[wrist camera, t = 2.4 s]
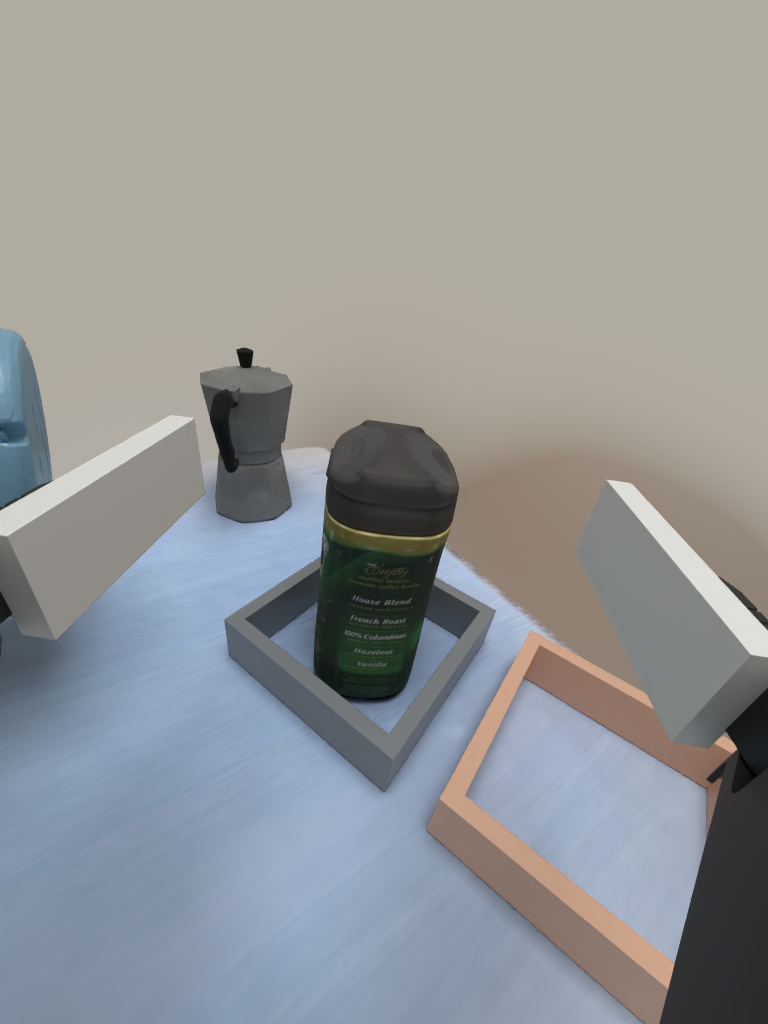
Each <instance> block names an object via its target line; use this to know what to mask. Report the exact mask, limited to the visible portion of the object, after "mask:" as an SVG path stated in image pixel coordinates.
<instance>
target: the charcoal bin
mask: <svg viewBox="0 0 768 1024" xmlns="http://www.w3.org/2000/svg"><path fill="white" fill-rule="evenodd" d="M320 565H321V557H319V558H318V559H316V560H315V561H313V562H311V563H310V564H308V565H307V566H305V567H304V568H302V569H301V570H299V571H298V572H296V573H295V574H293V575H292V576H290V577H289V578H287V579H286V580H284V581H282V582H281V583H279V584H278V585H276V586H275V587H273V588H272V589H270V590H269V591H267V592H266V593H264V594H263V595H261V596H260V597H258V598H257V599H255V600H254V601H252V602H250V603H249V604H247V605H246V606H244V607H243V608H241V609H240V610H238V611H237V612H235V613H234V614H232V615H231V616H229V617H228V618H226V619H225V620H224V621H225V628H226V636H227V644H228V651H229V656H231V657H232V658H233V659H234V660H235V661H236V662H237V663H238V664H240V665H241V666H242V667H243V668H244V669H245V670H246V671H247V672H249V673H250V674H251V675H252V676H253V677H254V678H255V679H257V680H258V681H259V682H260V683H261V684H262V685H263V686H264V687H266V688H267V689H268V690H269V691H270V692H271V693H272V694H273V695H275V696H276V697H277V698H278V699H279V700H280V701H281V702H282V703H284V704H285V705H286V706H287V707H288V708H289V709H290V710H291V711H293V712H294V713H295V714H296V715H297V716H298V717H299V718H300V719H302V720H303V721H304V722H305V723H306V724H307V725H308V726H309V727H311V728H312V729H313V730H314V731H315V732H316V733H317V734H319V735H320V736H321V737H322V738H323V739H324V740H325V741H326V742H328V743H329V744H330V745H331V746H332V747H333V748H334V749H335V750H337V751H338V752H339V753H340V754H341V755H342V756H343V757H344V758H346V759H347V760H348V761H349V762H350V763H351V764H352V765H353V766H355V767H356V768H357V769H358V770H359V771H360V772H361V773H362V774H364V775H365V776H366V777H367V778H368V779H369V780H370V781H371V782H373V783H374V784H375V785H376V786H377V787H378V788H379V789H380V790H382V791H383V792H385V791H386V789H387V788H388V786H389V785H390V783H391V782H392V780H393V779H394V777H395V776H396V774H397V773H398V771H399V770H400V768H401V767H402V765H403V764H404V762H405V761H406V759H407V758H408V756H409V754H410V753H411V751H412V750H413V748H414V747H415V745H416V744H417V742H418V741H419V739H420V738H421V736H422V735H423V733H424V732H425V730H426V729H427V727H428V726H429V724H430V723H431V721H432V720H433V718H434V717H435V715H436V714H437V712H438V711H439V709H440V708H441V706H442V705H443V703H444V702H445V700H446V699H447V697H448V696H449V694H450V693H451V691H452V689H453V688H454V686H455V685H456V683H457V682H458V680H459V679H460V677H461V676H462V674H463V673H464V671H465V670H466V668H467V667H468V665H469V664H470V662H471V661H472V659H473V658H474V656H475V655H476V653H477V652H478V650H479V649H480V647H481V646H482V644H483V643H484V640H485V638H486V635H487V633H488V630H489V627H490V625H491V622H492V620H493V617H494V615H495V612H496V610H494V609H492V608H490V607H488V606H487V605H485V604H483V603H481V602H479V601H478V600H476V599H474V598H472V597H470V596H469V595H467V594H465V593H463V592H461V591H460V590H458V589H456V588H454V587H452V586H451V585H449V584H447V583H445V582H443V581H441V580H440V579H438V578H436V577H435V580H434V584H433V588H432V592H431V595H430V599H429V603H428V606H427V610H426V614H425V617H426V618H428V619H430V620H431V621H433V622H435V623H436V624H438V625H439V626H441V627H443V628H444V629H446V630H448V631H449V632H451V633H453V634H454V635H456V636H457V637H459V638H460V639H459V640H458V642H457V643H456V644H455V646H454V647H453V649H452V650H451V651H450V653H449V654H448V655H447V657H446V658H445V659H444V661H443V662H442V663H441V665H440V666H439V667H438V669H437V670H436V671H435V673H434V674H433V676H432V677H431V678H430V680H429V681H428V682H427V684H426V685H425V686H424V688H423V689H422V690H421V692H420V693H419V694H418V696H417V697H416V699H415V700H414V701H413V703H412V704H411V705H410V707H409V708H408V709H407V711H406V712H405V713H404V715H403V716H402V717H401V719H400V720H399V721H398V723H397V724H396V726H395V727H394V728H393V730H392V731H391V732H390V734H388V733H386V732H385V731H384V730H383V729H381V728H380V727H379V726H378V725H376V724H375V723H374V722H373V721H371V720H370V719H369V718H368V717H366V716H365V715H364V714H363V713H362V712H360V711H359V710H358V709H357V708H355V707H354V706H353V705H352V704H350V703H349V702H348V701H347V700H345V699H344V698H343V697H342V696H340V695H339V694H338V693H337V692H335V691H334V690H333V689H332V688H330V687H329V686H328V685H327V684H325V683H324V682H323V681H322V680H320V679H319V678H318V677H317V676H315V675H314V674H313V673H312V672H310V671H309V670H308V669H307V668H305V667H304V666H303V665H302V664H300V663H299V662H298V661H297V660H295V659H294V658H293V657H292V656H290V655H289V654H288V653H287V652H285V651H284V650H283V649H282V648H280V647H279V646H278V645H277V644H275V643H274V642H273V641H272V640H270V639H269V638H270V637H271V636H273V635H274V634H275V633H276V632H278V631H279V630H280V629H282V628H283V627H284V626H286V625H287V624H288V623H290V622H291V621H292V620H293V619H295V618H296V617H297V616H299V615H300V614H301V613H303V612H304V611H305V610H307V609H308V608H309V607H310V606H312V605H313V604H314V603H316V602H317V601H318V597H319V579H320Z"/></svg>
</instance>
